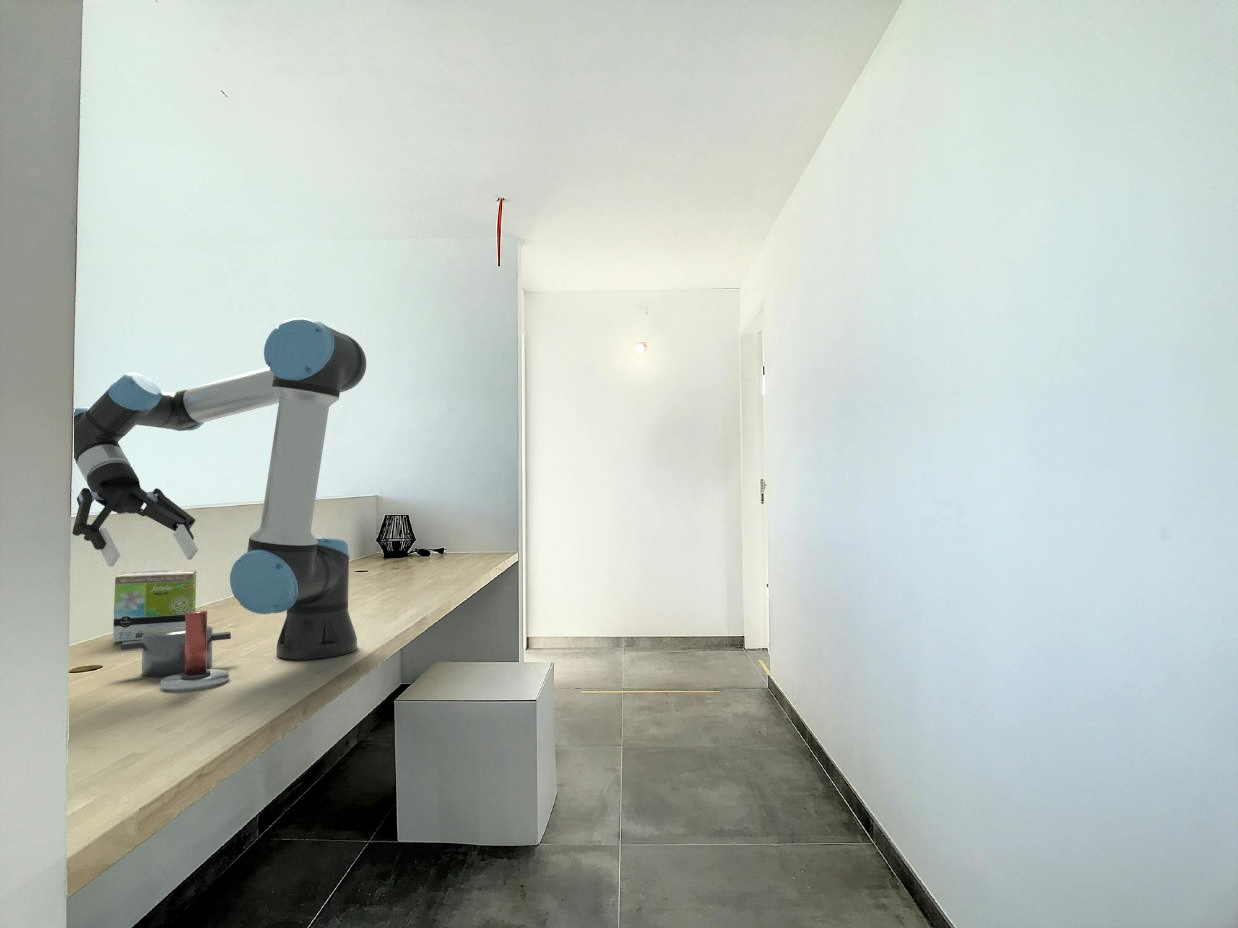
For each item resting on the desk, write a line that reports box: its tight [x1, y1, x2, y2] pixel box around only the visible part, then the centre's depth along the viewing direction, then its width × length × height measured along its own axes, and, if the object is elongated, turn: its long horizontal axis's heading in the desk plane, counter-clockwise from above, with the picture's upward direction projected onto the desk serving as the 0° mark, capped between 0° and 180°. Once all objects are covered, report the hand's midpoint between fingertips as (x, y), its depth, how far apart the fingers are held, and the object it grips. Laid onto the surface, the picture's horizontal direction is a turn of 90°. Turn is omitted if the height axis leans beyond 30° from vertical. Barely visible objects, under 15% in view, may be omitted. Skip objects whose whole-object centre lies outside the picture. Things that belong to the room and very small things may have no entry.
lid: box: [160, 610, 230, 693], centre depth 120 cm, size 10×10×12 cm
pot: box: [120, 625, 232, 678], centre depth 130 cm, size 17×11×7 cm, turn 121°
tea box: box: [112, 569, 197, 644], centre depth 161 cm, size 15×10×15 cm, turn 117°
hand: (155, 557), depth 125 cm, fingers open, 13 cm apart
